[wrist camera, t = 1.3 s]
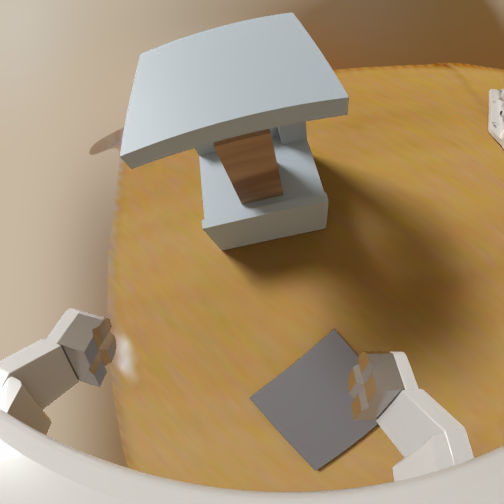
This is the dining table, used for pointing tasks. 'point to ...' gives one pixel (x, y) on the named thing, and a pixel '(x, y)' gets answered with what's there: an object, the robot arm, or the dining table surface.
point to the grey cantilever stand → (238, 119)
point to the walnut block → (251, 165)
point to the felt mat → (315, 402)
